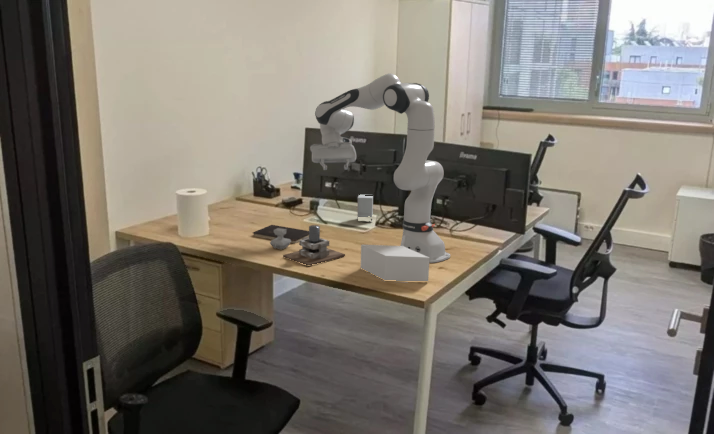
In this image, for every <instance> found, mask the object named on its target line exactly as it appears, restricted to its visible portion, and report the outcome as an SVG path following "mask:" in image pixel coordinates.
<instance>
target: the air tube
mask: <svg viewBox="0 0 714 434" xmlns="http://www.w3.org/2000/svg"><path fill="white" fill-rule="evenodd" d="M320 230H321V226H320V225H316V224H311V225H309V226H308V231H309V243H312V244H316V243H319V242H320V238H321V236H320V235H321V231H320ZM309 252H311V253H317V252H319V249H315V250H312V249H309Z"/></svg>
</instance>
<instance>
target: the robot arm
mask: <svg viewBox="0 0 714 434" xmlns="http://www.w3.org/2000/svg"><path fill="white" fill-rule="evenodd" d="M429 99H430V92H429V90H428V89H427V87H426V86H425V85H423V84H421V83H417V82H401V80H400V78H399V77H398V76H397V75H396V74H394V73H386V74H384V75H381V76H380V77H376V79H374V80H373V81H371V82H370V83H368V84H366V85H364V86H361V87H357V88H354V89H350V90H348V91H345V92H344V93H341V94H340V95H338V96H336V97H334V98H332V99H330V100H326V101H323V102H321V103H320V104H318V106H317V107H316V109H315V113H314V114H315V115H314V116H315V119H316V121H317V123H318V124H319V128H320V129H319V130H320V134H321V143H313V144H311V145H310V147H309V150H310V152H311V162H313V163H314V164H315V163H316V164H318V163H319V164H320V166H322V169H323V171H327V170H328V165H327V164H326V163H345V164H344V165H343V169H344V170H345V171H346V170H349V163H355V162H356V160H357V151H356V149H355V146H354V145H353V141H352V140H351V138H347V137H343V136H341V135H343V134H345V133H346V132H348V131H350V130H351V129H352V128H353V126H354V123H355V116H354V114H353V112H352V111H350V110H348V109H347V108H350V107H353V108H354V107H355V108H360V109H361V108H362V109H367V110H371V111H373V110H377V109H380V108H382V107H384V106H385V107H387V109H389V110H392V111H393V112H396V113H398V114H401V115H402V114H403V113H404V114H405V115H406V117H407V131H406V132H407V133H406V134H407V135H406V147H405V150H404V155H403V157H402V160H401V161H400V164H399V165H398V167H397V168H396V169H395V170H394V173H393V182H394V184H395V186H396V187H397V188H398V189H399V190H403V191H410V193H409V195H408V197H406V199H405V202H404V208H403V209H404V211H403V212H404V213H403V214H404V215H403V219H402V237H401V241H400V245H399V246H404V247H406V248H408V249H411V250H413V251H415V252H418V253H420V254H422V255H425V256H427V257H429V264H430V263H431V264H432V263H439V262H443V261H446V260H449V258H451V254H450V253H449V252H446V245H445V242H444V240H442V238H441V237H440V236H439V234H437V232H435V231H434V227H436V226H435V225H436V223H433V224H432V220H431V213H432V211H431V209H432V204H433V203H432V202H433V198H434V195H435V192H436V191H437V187H438V185H439V184H440V182H441V181H443V178H444V176H445V175H444V173H445V172H444V167H443V165H442V164H441V163H440V162H438V161H436V160H429V159H428V157H429V156H430V154H431V152H432V151H433V150H434V148H435V146H434V145H435V127H436V126H435V113H434V112H435V111H434V107H433V105H432V104H431V103H430V102H429ZM427 159H428V160H427Z"/></svg>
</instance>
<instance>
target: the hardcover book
mask: <svg viewBox="0 0 714 434" xmlns="http://www.w3.org/2000/svg"><path fill="white" fill-rule="evenodd" d="M277 228H281V229H286V234H285V235H284V236H283V237H284V238H287V239H290V240H291V243H290V244H294V243H296V244H299V240H302V238H305V237H309V230H306V229H299V228H295V227H287V226H283V225H275V224H270V225H268V226H265V227H262V228H260V229H258V230H255V231H253V232H252V234H253V237H256V238H257V237H258V238H263V239H269V240H273V239H275V238H278V236H277V235H275V233H274V230H275V229H277Z"/></svg>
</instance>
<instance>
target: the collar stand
mask: <svg viewBox="0 0 714 434" xmlns="http://www.w3.org/2000/svg"><path fill="white" fill-rule="evenodd" d="M298 244H299V246H301V249H299V250H297V251H292V252H289V253H286V254H282V255H283V256H282V257H283V258H284V257H285V258H284V259H286V258H289V259H291V260H290V261H292V260H294V261H297V262H300V263H303V264H306V265H312V264H317V263H321V262H324V263H326V262H325V261H328V262H330V261H329V260H331V261H333V260H332V259H334V260H337V259H336V258H338V259H341V258H345V257H346V253H343V252H339V251H338V250H337V251H336V250H334V249H331V248H328V247H329V246H330V240H328V239H324V238H321V237H320V242H319V243H316V244H312V243H309V237H305V238H302V240H299V242H298ZM309 249H312V250H315V249H319V252H317V253H311V252H309ZM344 256H345V257H344ZM340 257H341V258H340ZM289 259H288V260H289ZM294 261H293V262H294ZM297 262H296V263H297ZM300 263H299V264H300ZM321 264H322V263H321ZM317 265H318V264H317Z"/></svg>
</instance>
